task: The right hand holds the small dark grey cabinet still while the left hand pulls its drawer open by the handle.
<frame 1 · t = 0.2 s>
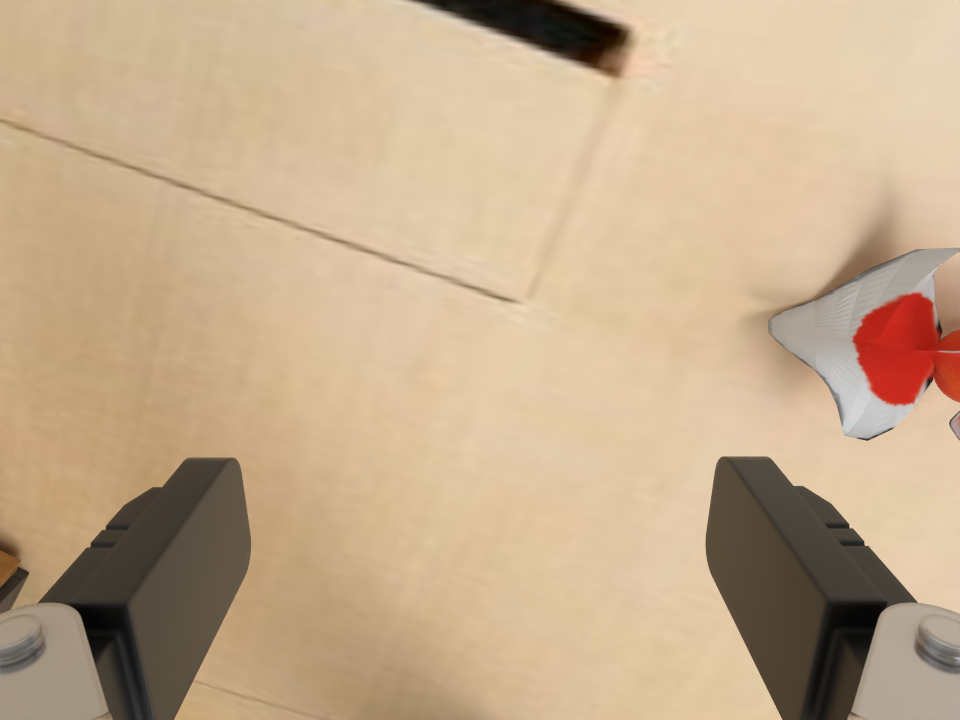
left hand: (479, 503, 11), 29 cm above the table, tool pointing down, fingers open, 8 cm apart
fish: (877, 336, 41), on the table
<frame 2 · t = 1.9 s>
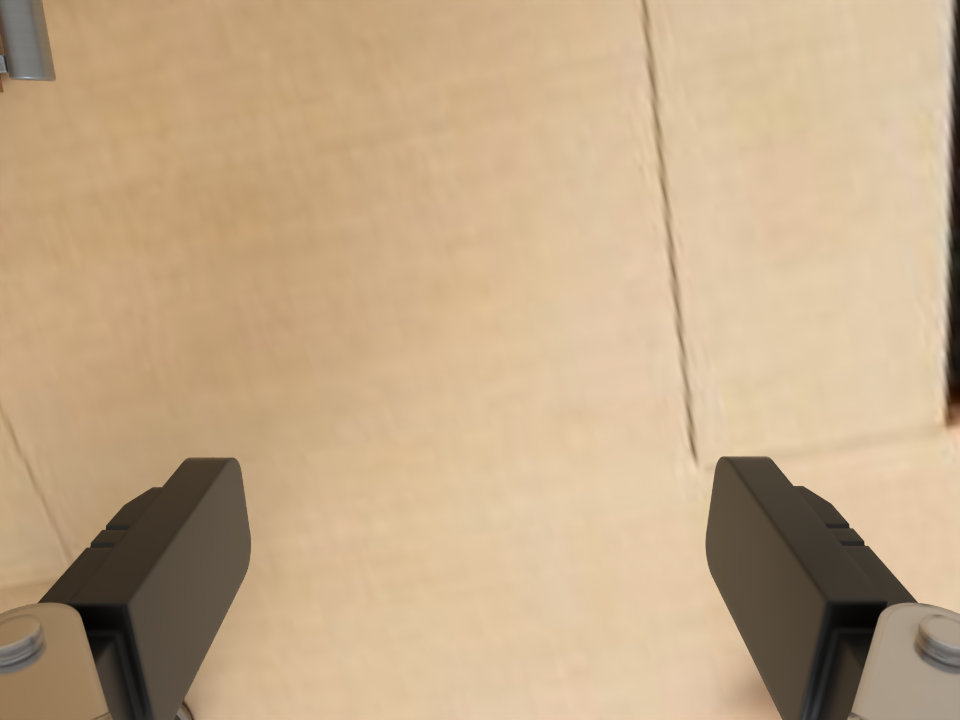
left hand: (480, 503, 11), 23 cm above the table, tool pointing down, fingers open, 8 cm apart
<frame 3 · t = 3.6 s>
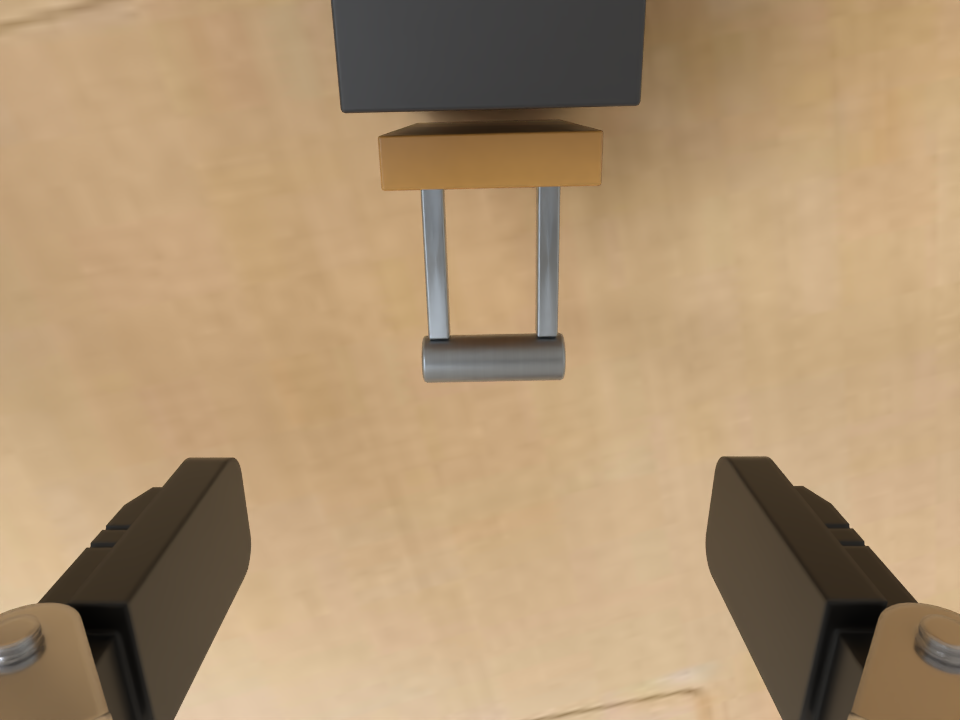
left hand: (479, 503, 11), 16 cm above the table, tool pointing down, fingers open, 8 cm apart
drawer: (486, 0, 18), point 5 cm above the table, slide at 0.5 cm
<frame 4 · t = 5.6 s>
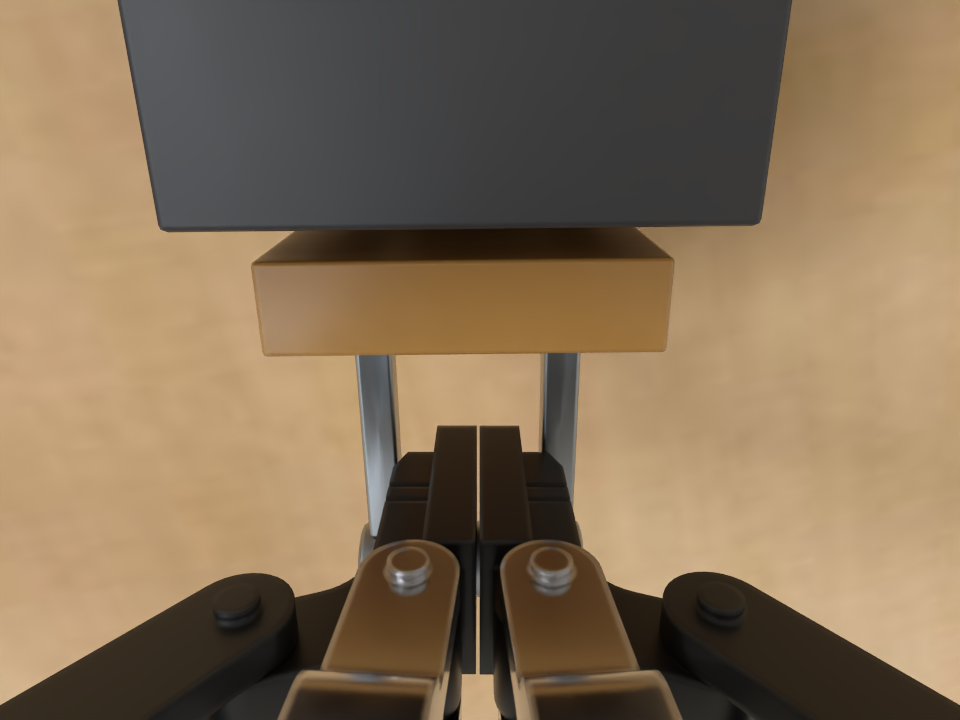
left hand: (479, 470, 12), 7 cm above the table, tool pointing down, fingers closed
drawer: (463, 4, 11), point 5 cm above the table, slide at 0.5 cm, touching left hand
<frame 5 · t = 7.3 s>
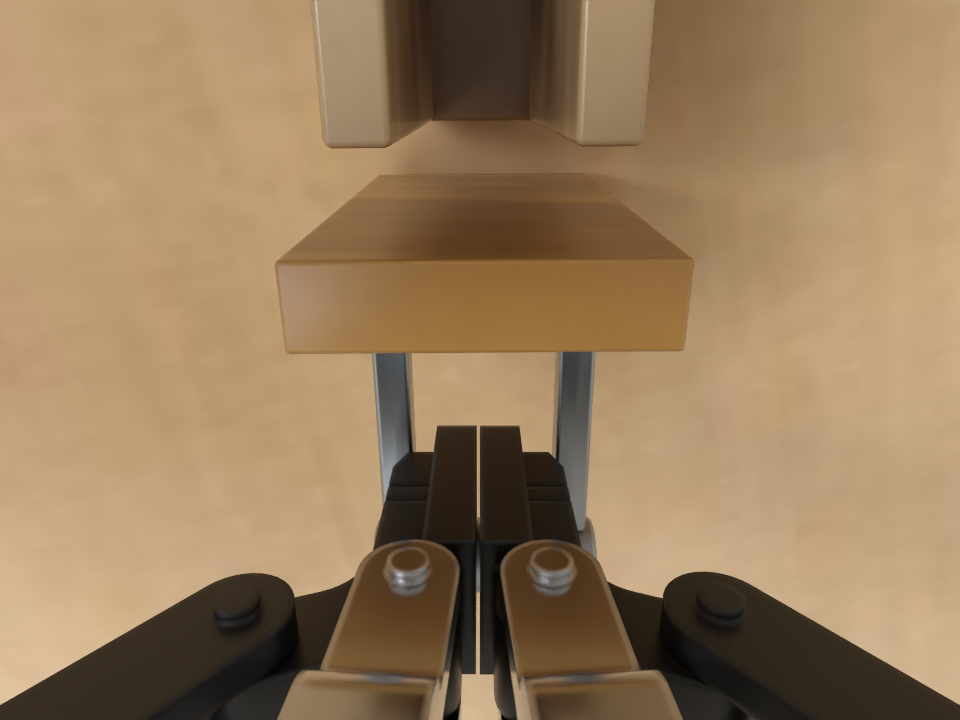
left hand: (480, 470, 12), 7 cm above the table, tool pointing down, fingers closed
drawer: (481, 4, 11), point 5 cm above the table, slide at 7.3 cm
when the right hand's fingers open (8 cm above the table, at t = 8.7 s): cabinet stays where it is, on the table.
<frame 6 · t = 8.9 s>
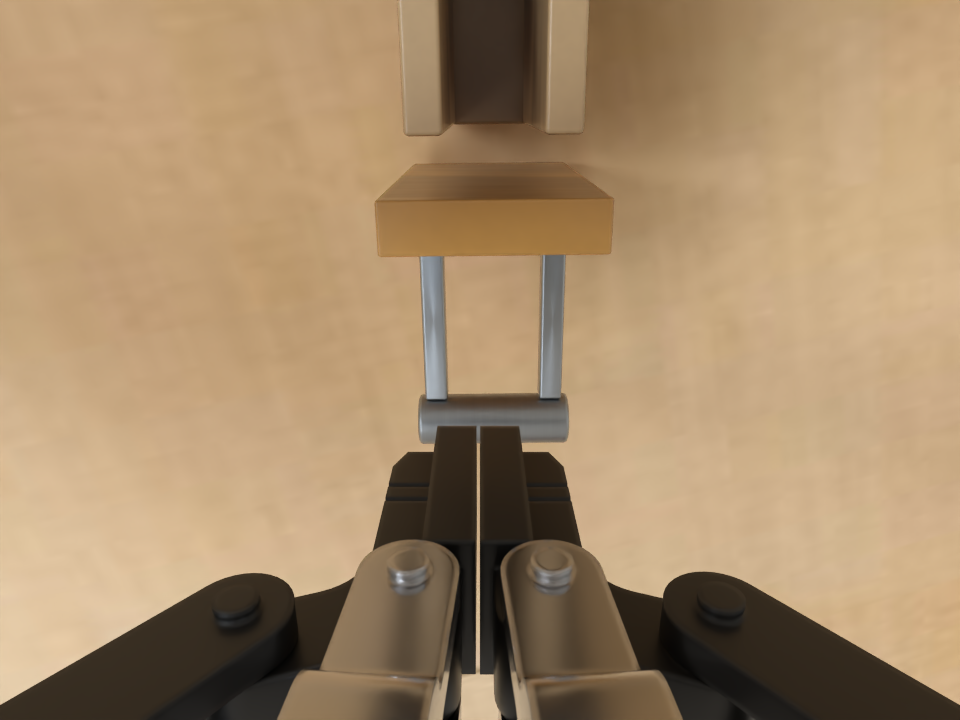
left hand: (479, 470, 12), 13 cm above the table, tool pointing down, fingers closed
drawer: (490, 47, 17), point 5 cm above the table, slide at 7.2 cm
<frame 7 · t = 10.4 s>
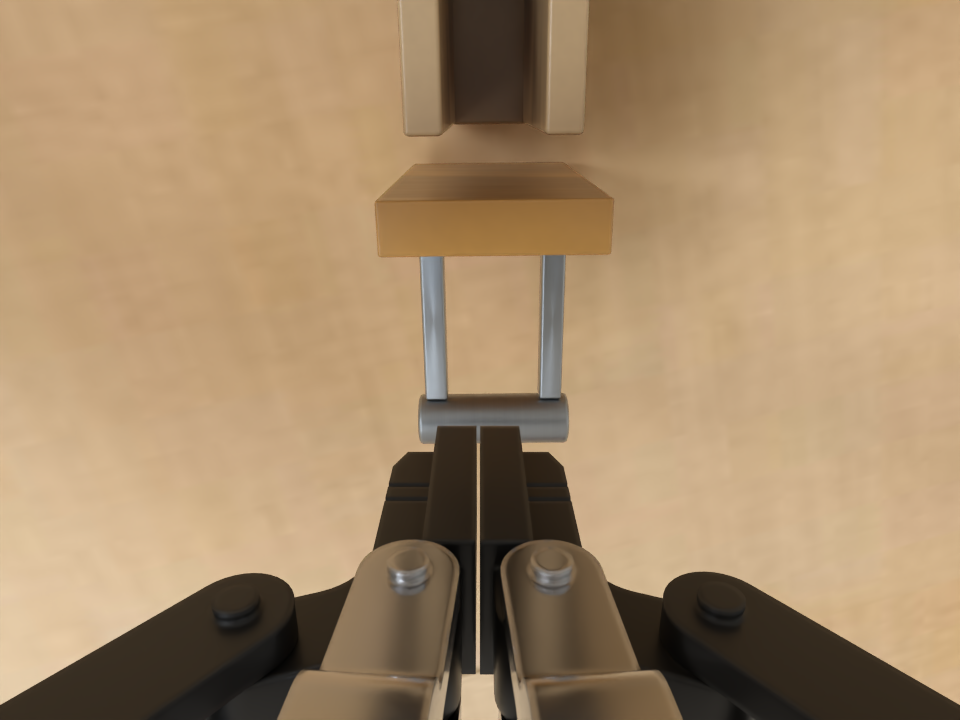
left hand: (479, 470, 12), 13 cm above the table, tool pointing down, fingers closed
drawer: (490, 47, 17), point 5 cm above the table, slide at 7.2 cm
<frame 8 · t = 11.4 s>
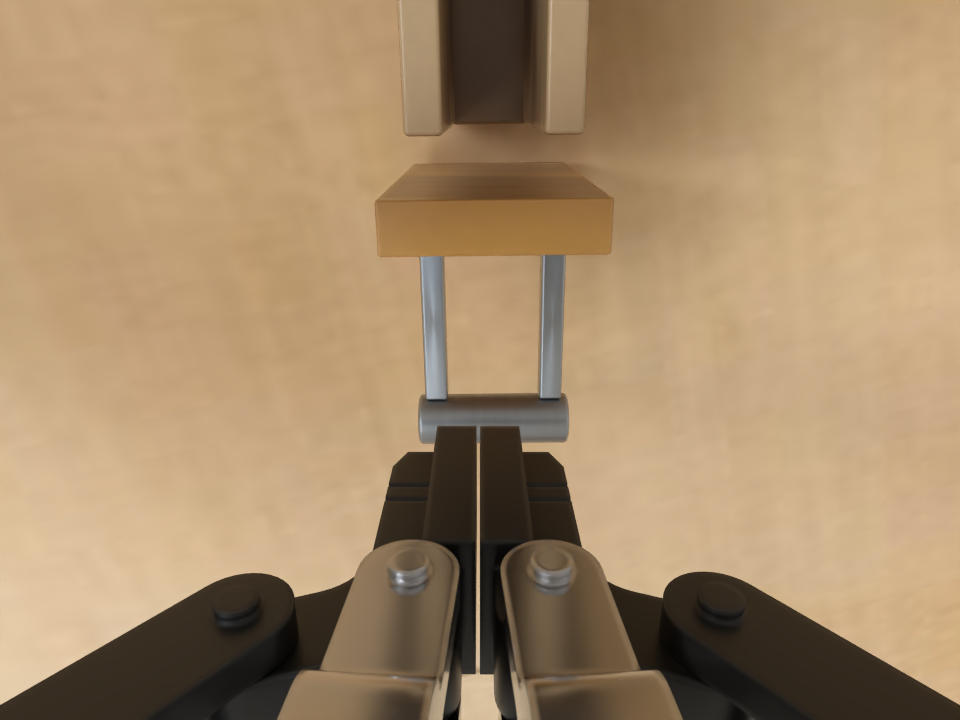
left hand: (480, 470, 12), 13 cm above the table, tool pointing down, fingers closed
drawer: (490, 47, 17), point 5 cm above the table, slide at 7.2 cm
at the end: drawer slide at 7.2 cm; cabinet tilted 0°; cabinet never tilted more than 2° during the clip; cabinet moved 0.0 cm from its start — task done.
